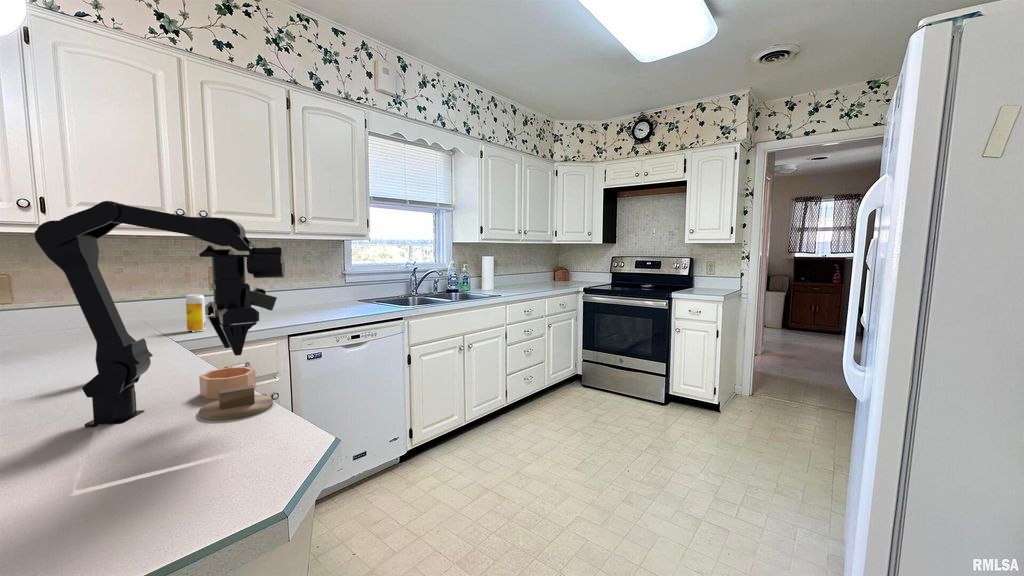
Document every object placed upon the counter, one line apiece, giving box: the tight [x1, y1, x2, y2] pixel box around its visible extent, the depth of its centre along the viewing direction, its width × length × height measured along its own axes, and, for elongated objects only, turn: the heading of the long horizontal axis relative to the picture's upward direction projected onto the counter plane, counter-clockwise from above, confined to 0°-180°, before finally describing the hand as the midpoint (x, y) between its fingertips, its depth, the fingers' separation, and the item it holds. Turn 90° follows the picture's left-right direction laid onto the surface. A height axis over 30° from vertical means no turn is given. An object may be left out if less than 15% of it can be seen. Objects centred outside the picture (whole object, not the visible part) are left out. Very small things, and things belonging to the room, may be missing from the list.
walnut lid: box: [198, 385, 274, 421], centre depth 88 cm, size 13×13×4 cm
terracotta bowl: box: [199, 366, 257, 400], centre depth 98 cm, size 10×10×5 cm
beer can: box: [185, 293, 207, 332], centre depth 170 cm, size 6×6×15 cm
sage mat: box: [195, 399, 276, 423], centre depth 88 cm, size 14×14×1 cm
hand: (232, 351), depth 89 cm, fingers open, 9 cm apart
